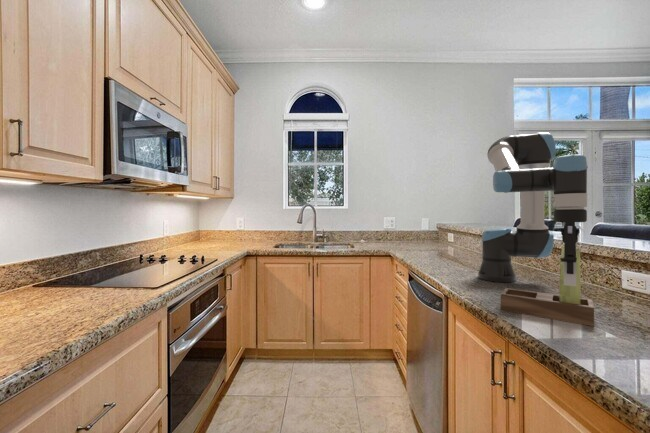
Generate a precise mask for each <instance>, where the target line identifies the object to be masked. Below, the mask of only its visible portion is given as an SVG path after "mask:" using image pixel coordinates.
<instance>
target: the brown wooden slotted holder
mask: <svg viewBox="0 0 650 433" xmlns="http://www.w3.org/2000/svg"><path fill="white" fill-rule="evenodd" d="M500 311H504V312H509V313H510V312H511V313H515V314H522V315H527V316H528V315H529V316H533V317H540V318H545V319H549V320H556V321H562V322H567V323H572V324H579V325H586V326H591V327H595V306H594V302H593V299H591V298H585V297H580V304H573V303H566V302H559V294H555V293H546V292H538V291H533V290H525V289H518V288H510V287H509V288H508V287H505V288H504V289H503V291H502V292H501V293H500Z"/></svg>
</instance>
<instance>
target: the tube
mask: <svg viewBox="0 0 650 433" xmlns="http://www.w3.org/2000/svg"><path fill="white" fill-rule="evenodd" d="M560 254H561V255H560V259H561V258H564V245H562V246H561V252H560ZM576 258H577V261H576V286H569V285H564V262H562V261H561V260H560V270H559V290H558V291H559V293H558V295H559V302H566V303H573V304H580V298H581V249H578V248H576Z"/></svg>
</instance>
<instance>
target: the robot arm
mask: <svg viewBox="0 0 650 433" xmlns="http://www.w3.org/2000/svg"><path fill="white" fill-rule="evenodd" d="M555 142H556V141H555V139H554V136H553V134H551V133H549V132H534V133H524V134H515V135H508V136H504V137H502V138H500V139H498V140H496V141H495V142H493V143H492V144H491V145H490V146H489V149H488V150H487V159H488V161H489V163H491V165H492V166H493V168H494V170H495V172H494V173H493V176H492V189H493V191H494V192H495V193H505V194H507V193H508V194H509V193H520V223H519V224H518V225H517V226H516V230H512V228H511V227H501V228H500V227H499V228H491V229H490V228H489V229H486V230H483V231H482V233H481V234H482V235H481V236H482V237H481V243H482V244H481V246H482V249H481V250H482V251H481V256H482V257H481V263H480V266H479V270H478V271H477V272H478V273H477V277H478V278H479V279H481V280H483V281H488V282H496V283H497V282H498V283H512V282H514V283H515V282H516V281H517V276H516V273H515V269H514V266H513V264H512V257H513V258H514V257H516V258H535V259H538V258H541V259H543V258H544V259H545V258H548V257H549V256H550V255H551V254H552V252H553V249H554V245H555V244H554V243H555V239H554V238H555V236H554V235H555V234H554V233H553V231H551V230H549V229H550V228H549V227H548V225H546V224H545V207H546V206H545V202H546V199H545V198H546V192H553V197H551V198H550V200H551V202H553V208H555V209H554V210H553V221H554V222H555V223H564V224H563V227H562V228H560V234H561V235H562V236H561V238H562V239H561V242H563V243H564V244H563V246H564V258H561V257H560V262H561V261H562V262H564V285H569V286H576V261H577V258H576V249H577V243H578V241H579V237H578V236H579V234H580V233H579V232H580V231H579V228H577V227H576V223H585V222H587V221H588V211H587V209H585V208H587V207H588V192H587V189H588V188H587V187H588V186H587V185H588V180H587V179H588V165H587V162H588V161H587V157H586V156H585V155H584V154H568V155H560V156H557V157H556V153H557V148H556V143H555ZM552 160H553V164H552V165H553V166H552V167H548V166H549V165H550V164H551V161H552Z"/></svg>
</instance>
